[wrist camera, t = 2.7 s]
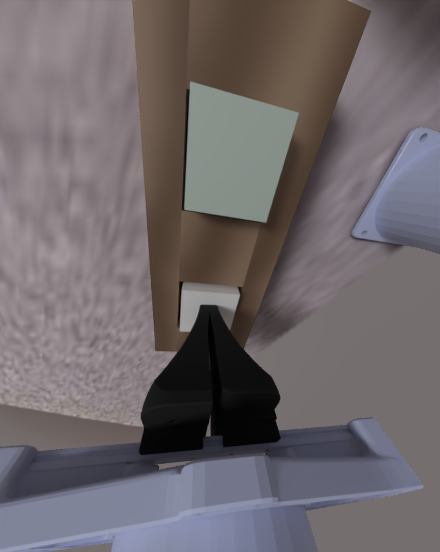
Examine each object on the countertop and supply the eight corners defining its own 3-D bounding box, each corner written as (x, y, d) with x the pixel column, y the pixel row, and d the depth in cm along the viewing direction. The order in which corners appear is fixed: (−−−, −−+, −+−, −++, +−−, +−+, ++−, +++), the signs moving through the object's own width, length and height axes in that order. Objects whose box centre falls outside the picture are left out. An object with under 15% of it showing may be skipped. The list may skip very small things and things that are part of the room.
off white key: (233, 275, 15) (239, 294, 12) (225, 310, 17) (229, 333, 14) (185, 270, 14) (181, 290, 11) (183, 307, 16) (179, 331, 13)
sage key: (271, 133, 9) (299, 112, 6) (251, 213, 11) (265, 222, 9) (194, 113, 8) (190, 81, 6) (189, 203, 10) (184, 209, 8)
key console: (311, 72, 10) (370, 11, 6) (235, 324, 20) (242, 352, 17) (158, 20, 8) (126, -97, 5) (164, 320, 19) (155, 351, 16)
